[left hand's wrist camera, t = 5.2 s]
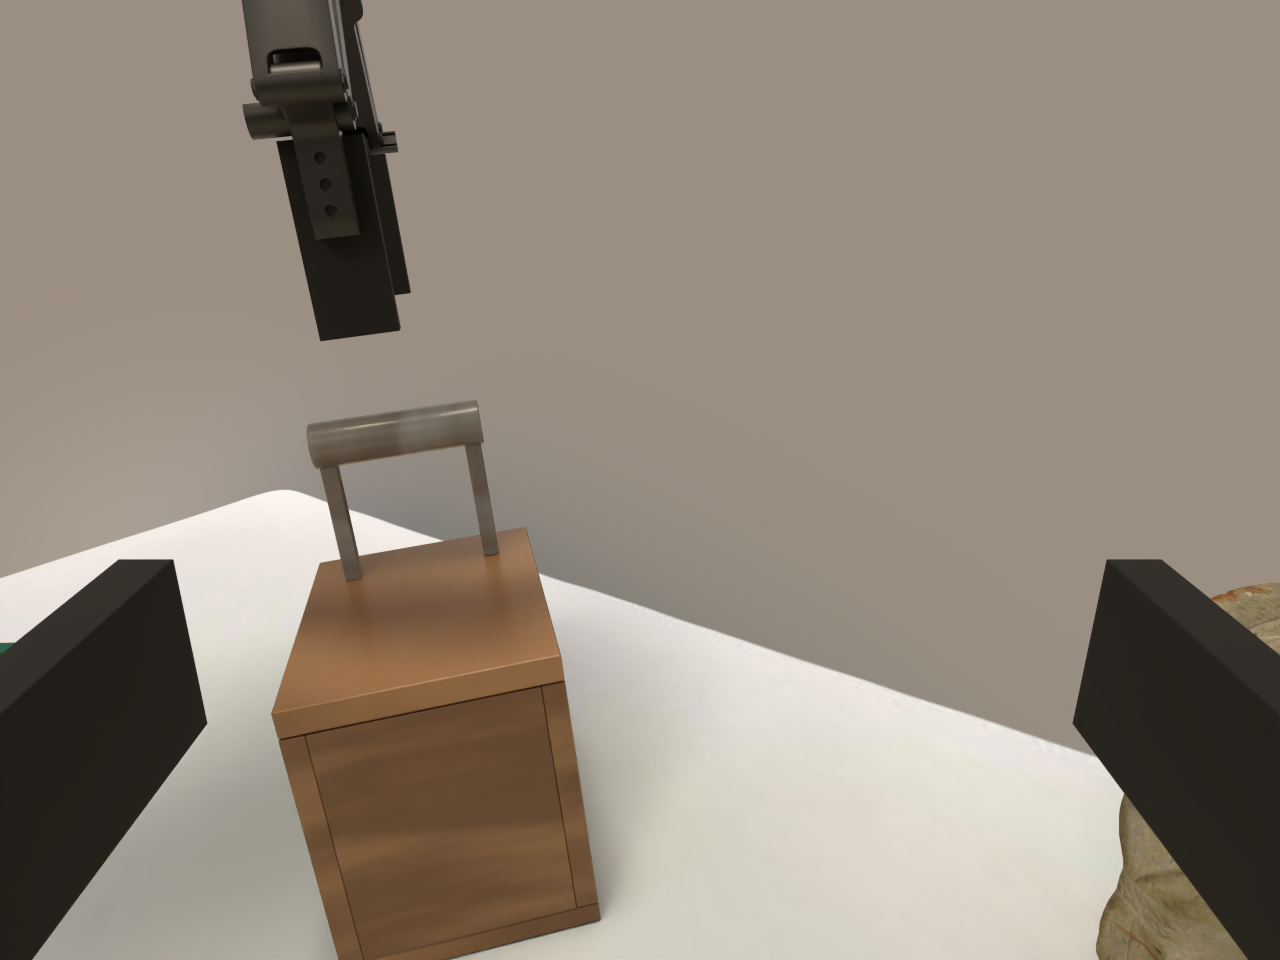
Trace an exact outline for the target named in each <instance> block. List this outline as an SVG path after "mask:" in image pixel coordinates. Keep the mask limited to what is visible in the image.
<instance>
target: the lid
mask: <svg viewBox="0 0 1280 960" xmlns="http://www.w3.org/2000/svg"><path fill="white" fill-rule="evenodd" d="M307 441H308V447H309V452H310V456H311V459H312V462H313V465H314V467H315V468H316V469H320V471H321V475H322V480H323V484H324V488H325V493H326V497H327V501H328V506H329V510H330V514H331V519H332V523H333V527H334V532H335V536H336V540H337V545H338V549H339V553H340V558H341V559H340V560H334V561H328V562H323V563H320V564H319V567H318V571H317V574H316V577H315V580H314V583H313V586H312V589H311V592H310V595H309V598H308V602H307V605H306V608H305V611H304V614H303V617H302V620H301V623H300V626H299V629H298V633H297V636H296V639H295V642H294V645H293V648H292V651H291V654H290V657H289V660H288V664H287V667H286V670H285V673H284V676H283V679H282V682H281V685H280V688H279V691H278V694H277V698H276V701H275V704H274V707H273V710H272V713H271V715H272V718H273V722H274V726H275V729H276V733H277V736H278V738H279V739H282V738H287V737H292V736H297V735H302V734H307V733H312V732H316V731H321V730H326V729H331V728H336V727H341V726H345V725H350V724H355V723H360V722H365V721H370V720H374V719H379V718H384V717H389V716H394V715H399V714H404V713H408V712H413V711H418V710H423V709H428V708H433V707H437V706H442V705H447V704H452V703H457V702H462V701H466V700H471V699H476V698H481V697H486V696H491V695H496V694H500V693H505V692H510V691H515V690H520V689H525V688H529V687H534V686H539V685H544V684H549V683H554V682H558V681H563V680H564V672H563V665H562V659H561V654H560V650H559V646H558V643H557V639H556V636H555V632H554V628H553V625H552V621H551V617H550V614H549V610H548V607H547V603H546V599H545V596H544V592H543V588H542V585H541V581H540V577H539V574H538V570H537V567H536V563H535V559H534V556H533V552H532V548H531V545H530V541H529V538H528V534H527V530H526V528H525V527H523V528H517V529H511V530H506V531H500V532H495V526H494V520H493V514H492V508H491V502H490V496H489V490H488V484H487V478H486V472H485V466H484V460H483V455H482V449H481V443H484V440H483V434H482V428H481V422H480V416H479V410H478V404H477V400H476V399H474V400H468V401H461V402H454V403H447V404H440V405H434V406H427V407H420V408H413V409H407V410H400V411H393V412H387V413H380V414H373V415H366V416H360V417H353V418H346V419H340V420H333V421H326V422H319V423H313V424H309V425H308V426H307ZM462 446H465V449H466V454H467V460H468V466H469V471H470V477H471V483H472V489H473V495H474V500H475V506H476V512H477V517H478V523H479V529H480V535H477V536H471V537H466V538H460V539H454V540H448V541H442V542H437V543H431V544H425V545H420V546H414V547H408V548H402V549H397V550H391V551H385V552H380V553H374V554H368V555H363V556H359V555H358V550H357V546H356V541H355V537H354V532H353V528H352V524H351V519H350V515H349V510H348V506H347V502H346V497H345V492H344V488H343V483H342V479H341V474H340V470H339V466H342V465H348V464H355V463H360V462H367V461H373V460H380V459H386V458H393V457H399V456H405V455H412V454H417V453H424V452H430V451H437V450H443V449H450V448H456V447H462Z"/></svg>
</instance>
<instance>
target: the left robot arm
mask: <svg viewBox="0 0 1280 960" xmlns="http://www.w3.org/2000/svg"><path fill="white" fill-rule="evenodd" d="M206 725H207V719H206V715H205V710H204V705H203V700H202V695H201V691H200V686H199V681H198V676H197V671H196V667H195V662H194V657H193V652H192V647H191V643H190V638H189V633H188V628H187V623H186V619H185V614H184V609H183V604H182V599H181V595H180V590H179V585H178V580H177V575H176V571H175V566H174V561H173V560H118V561H116V562H115V563H114V564H113V565H111V566H110V567H109V568H108V569H106V570H105V571H104V572H103V573H101V574H100V575H99V576H98V577H96V578H95V579H94V580H93V581H91V582H90V583H89V584H88V585H86V586H85V587H84V588H83V589H81V590H80V591H79V592H78V593H76V594H75V595H74V596H73V597H72V598H70V599H69V600H68V601H67V602H65V603H64V604H63V605H62V606H60V607H59V608H58V609H57V610H55V611H54V612H53V613H52V614H50V615H49V616H48V617H47V618H45V619H44V620H43V621H42V622H40V623H39V624H38V625H37V626H35V627H34V628H33V629H32V630H30V631H29V632H28V633H27V634H25V635H24V636H23V637H22V638H21V639H19V640H18V641H17V642H16V643H14V644H13V645H12V646H11V647H9V648H8V649H7V650H6V651H4V652H3V653H2V654H1V655H0V960H32V959H33V958H34V956H35V955H36V954H37V952H38V951H39V950H40V948H41V947H42V946H43V944H44V943H45V942H46V940H47V939H48V938H49V936H50V935H51V934H52V932H53V931H54V929H55V928H56V927H57V925H58V924H59V923H60V921H61V920H62V919H63V917H64V916H65V915H66V913H67V912H68V911H69V909H70V908H71V907H72V905H73V904H74V903H75V901H76V900H77V898H78V897H79V896H80V894H81V893H82V892H83V890H84V889H85V888H86V886H87V885H88V884H89V882H90V881H91V880H92V878H93V877H94V876H95V874H96V873H97V872H98V870H99V869H100V867H101V866H102V865H103V863H104V862H105V861H106V859H107V858H108V857H109V855H110V854H111V853H112V851H113V850H114V849H115V847H116V846H117V845H118V843H119V842H120V841H121V839H122V838H123V836H124V835H125V834H126V832H127V831H128V830H129V828H130V827H131V826H132V824H133V823H134V822H135V820H136V819H137V818H138V816H139V815H140V814H141V812H142V811H143V810H144V808H145V807H146V805H147V804H148V803H149V801H150V800H151V799H152V797H153V796H154V795H155V793H156V792H157V791H158V789H159V788H160V787H161V785H162V784H163V783H164V781H165V780H166V779H167V777H168V776H169V774H170V773H171V772H172V770H173V769H174V768H175V766H176V765H177V764H178V762H179V761H180V760H181V758H182V757H183V756H184V754H185V753H186V752H187V750H188V749H189V748H190V746H191V745H192V743H193V742H194V741H195V739H196V738H197V737H198V735H199V734H200V733H201V731H202V730H203V729H204V727H205V726H206ZM1073 725H1074V726H1075V727H1076V729H1077V730H1078V731H1079V733H1080V734H1081V735H1082V737H1083V738H1084V739H1085V741H1086V742H1087V743H1088V745H1089V746H1090V748H1091V749H1092V750H1093V752H1094V753H1095V754H1096V756H1097V757H1098V758H1099V760H1100V761H1101V762H1102V764H1103V765H1104V766H1105V768H1106V769H1107V770H1108V772H1109V773H1110V774H1111V776H1112V777H1113V779H1114V780H1115V781H1116V783H1117V784H1118V785H1119V787H1120V788H1121V789H1122V791H1123V792H1124V793H1125V795H1126V796H1127V797H1128V799H1129V800H1130V801H1131V803H1132V804H1133V805H1134V807H1135V808H1136V810H1137V811H1138V812H1139V814H1140V815H1141V816H1142V818H1143V819H1144V820H1145V822H1146V823H1147V824H1148V826H1149V827H1150V828H1151V830H1152V831H1153V832H1154V834H1155V835H1156V836H1157V838H1158V839H1159V841H1160V842H1161V843H1162V845H1163V846H1164V847H1165V849H1166V850H1167V851H1168V853H1169V854H1170V855H1171V857H1172V858H1173V859H1174V861H1175V862H1176V863H1177V865H1178V866H1179V867H1180V869H1181V870H1182V872H1183V873H1184V874H1185V876H1186V877H1187V878H1188V880H1189V881H1190V882H1191V884H1192V885H1193V886H1194V888H1195V889H1196V890H1197V892H1198V893H1199V894H1200V896H1201V897H1202V898H1203V900H1204V901H1205V903H1206V904H1207V905H1208V907H1209V908H1210V909H1211V911H1212V912H1213V913H1214V915H1215V916H1216V917H1217V919H1218V920H1219V921H1220V923H1221V924H1222V925H1223V927H1224V928H1225V929H1226V931H1227V932H1228V934H1229V935H1230V936H1231V938H1232V939H1233V940H1234V942H1235V943H1236V944H1237V946H1238V947H1239V948H1240V950H1241V951H1242V952H1243V954H1244V955H1245V956H1246V958H1247V959H1248V960H1280V655H1279V654H1278V653H1277V652H1276V651H1274V650H1273V649H1272V648H1271V647H1269V646H1268V645H1267V644H1266V643H1264V642H1263V641H1262V640H1261V639H1259V638H1258V637H1257V636H1256V635H1255V634H1253V633H1252V632H1251V631H1250V630H1248V629H1247V628H1246V627H1245V626H1243V625H1242V624H1241V623H1240V622H1238V621H1237V620H1236V619H1235V618H1233V617H1232V616H1231V615H1230V614H1228V613H1227V612H1226V611H1225V610H1223V609H1222V608H1221V607H1220V606H1218V605H1217V604H1216V603H1215V602H1213V601H1212V600H1211V599H1210V598H1208V597H1207V596H1206V595H1205V594H1203V593H1202V592H1201V591H1200V590H1199V589H1197V588H1196V587H1195V586H1194V585H1192V584H1191V583H1190V582H1188V581H1187V580H1186V579H1185V578H1184V577H1182V576H1181V575H1180V574H1179V573H1177V572H1176V571H1175V570H1174V569H1172V568H1171V567H1170V566H1169V565H1167V564H1166V563H1165V562H1164V561H1162V560H1107V561H1106V566H1105V570H1104V575H1103V580H1102V585H1101V590H1100V594H1099V599H1098V604H1097V609H1096V614H1095V619H1094V623H1093V628H1092V633H1091V638H1090V643H1089V647H1088V652H1087V657H1086V662H1085V667H1084V671H1083V676H1082V681H1081V686H1080V691H1079V695H1078V700H1077V705H1076V710H1075V715H1074V719H1073Z"/></svg>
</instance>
